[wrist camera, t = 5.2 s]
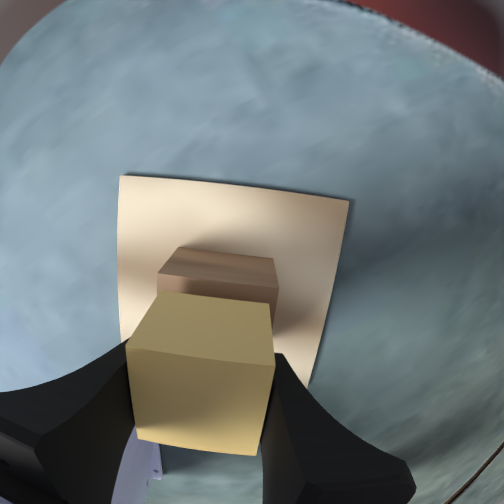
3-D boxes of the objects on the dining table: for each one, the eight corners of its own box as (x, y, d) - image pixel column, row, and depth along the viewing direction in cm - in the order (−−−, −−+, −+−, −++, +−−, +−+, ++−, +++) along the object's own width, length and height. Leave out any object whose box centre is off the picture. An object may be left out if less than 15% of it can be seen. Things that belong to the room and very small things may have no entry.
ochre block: (255, 387, 13) (256, 455, 10) (161, 374, 13) (138, 438, 9) (268, 303, 12) (275, 365, 8) (160, 290, 12) (125, 345, 8)
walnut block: (260, 340, 18) (262, 383, 14) (174, 329, 18) (157, 370, 14) (273, 258, 17) (279, 288, 13) (178, 247, 17) (157, 273, 13)
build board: (306, 385, 20) (306, 388, 19) (125, 362, 19) (123, 365, 19) (347, 200, 16) (349, 201, 16) (122, 175, 16) (119, 175, 15)
